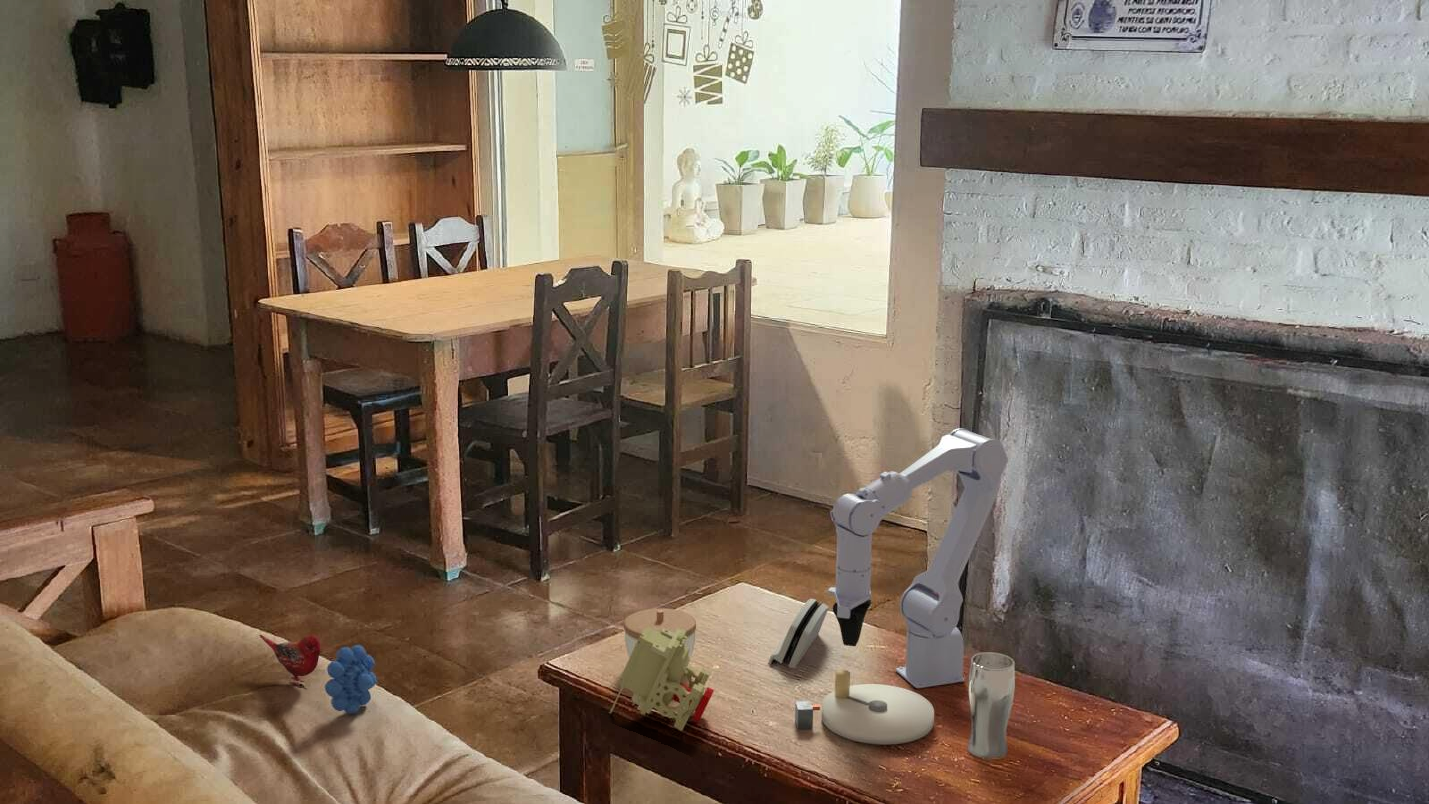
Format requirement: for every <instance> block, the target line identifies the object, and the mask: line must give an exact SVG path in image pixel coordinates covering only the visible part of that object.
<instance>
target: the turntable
mask: <svg viewBox="0 0 1429 804" xmlns="http://www.w3.org/2000/svg"><path fill="white" fill-rule="evenodd" d="M834 678H835V679H834V690H833V691H832V692H829V693H828V694H826V696H825V697H824V698H823V700H822V703H821V721H822V722H823V724H824V726H826V728H828V729H829V730H830V731H831V732H833V733H835V734H836V735H838V736H840V737H843V738H845V739H849V740H850V741H855V742H859V743H864V744H871V745H898V744H900V745H901V744H905V743H910V742H914V741H916V740H920V739H922V738H923V737H925V736H926V735H928V734H929V733H930V732H931V731H932V730H933V727H934V724H935V709H934V707H933V704H932V703H931V702H930V701H929V700H928V699H927V698H925V697H924V696H922V695H921V694H919V693H917V692H915V691H913V690H909V689H907V688H904V687H899V686H895V685H889V684H881V683H880V684H878V683H866V684H864V683H863V684H852V685H851V672H850V671H849V670H846V669H838V670H836V671H835V674H834Z"/></svg>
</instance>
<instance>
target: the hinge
mask: <svg viewBox="0 0 1429 804" xmlns="http://www.w3.org/2000/svg"><path fill="white" fill-rule="evenodd" d="M828 611H829V606H828V605H827V604H825V603H824V602H823V603H819V601H818V600H817V599H814V598H809V599H807V601H806V602H805V603H804V605H803V606H802V607H801V609H800V611H799V612H798V613H797V615H796V616H795V618H794V620H793V621H792V622H791V625H790V626H789V628H788V631H787V633H786V635H785V636H784V638H783V640H782V641H781V642H780V644H779V645H778V646H777V647H776V649H775V650H774V651H773V653H772V654H771V655H770V657H769V659H768V663H767V665H771V664H772V663H773V662H774V660H775V661H777V662H778V663H780V664H782V663H786V664H787V665H788V666H787V668H790V669H796V667H797V666H798V665H799V663H800V661H801V660H802V659H803V657H804V656H805V654H806V652H808V649H809V648H810V647H811V645H812V644H813V642H814V641H815V639H816V638H817V637H818V636H819V634H820V630H821V629H822V626H823V623H824V620H825V619H826V616H827V613H828ZM786 661H787V662H786Z"/></svg>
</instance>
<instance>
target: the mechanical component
mask: <svg viewBox="0 0 1429 804" xmlns="http://www.w3.org/2000/svg"><path fill="white" fill-rule="evenodd" d="M685 633H686V631H685V630H683V629H682V630H680V629H677V631H676V632H675V633H673V632H671V631H669V630H667V629H665V628H663V629H662V631H661V633H659V632H657V631H655V630H652V629H651V628H645V629H644V631H643V632H642V634H641V636H640V637H639V639H638V641H637V643H636V645H635V648H634V650H633V652H632V654H631V656H630V658H629V657H628V660H627V662H626V665H625V667H624V669H623V670H622V673H621V675H620V677H619V678H618V679H619V680H618V682H617V683H619V685H620V688H619V692H618V694H617V696H616V698H615V701H614V702H613V705H612V707H611V709H610V711H609V714H610V715H611V714H612V712H613V710H614V708H615V705H616V704H617V701H618V699H619V697H620V695H621V693H622V692H623V690H624V689H627V690H629V691H631V692H632V693H633V695H632V696H631V701H632V702H633V703H635V704H636V705H637V708H636V709H637V710H638V711H640V714H642V715H645V714H646V713H647V714H648V715H649V714H651V712H652V709H655V710H657V712H659V713H660V714H661V716H663V717H667V718H669V719H675V720H676V721H675V722H674V725H673V727H674V728H675V729H677V730H679V731H680V732H683V730H684V728H685V726H686V724H687V722H688V719H689V718H690V717H691V721H692V722H694V723H696V724H699V722H700V720H701V718H702V716H703V713H704V711H706V708H707V705H708V704H709V702H710V700H711V698H712V696H713V693H714V691H715V689H712V688H711V687H708V686H707V687H705V685H706V684H707V681H708V679H709V677H710V675H711V673H712V672H711V671H710V670H709V669H708V670H707V669H705V668H703V667H702V668H701V670H700V671H699V673H697V672H696V671H695V670H694V669H693V668H691V667H690V666H689V665H690V664H689V663H690V661H691V658H689V655H688V654H689V648H688V647H686V646H685V645H684V643H685V641H686V639H687V636H685ZM683 676H684V677H686V679H687V681H688V686H687V685H686V684H683V683H681V680H682V679H683ZM693 678H694V679H693ZM671 701H674V702H676V703H678V705H677V706H675V707H673V706H672V707H671V706H670V705H669V704H670V702H671ZM676 712H677V713H676Z"/></svg>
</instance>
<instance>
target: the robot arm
mask: <svg viewBox="0 0 1429 804" xmlns="http://www.w3.org/2000/svg"><path fill="white" fill-rule="evenodd" d="M1008 461H1009V457H1008V455H1007V453H1006V450H1005V447H1004V445H1003V443H1002V442H1001V441H1000V440H997V439H995V438H989V437H986V436H984V435H980V434H977V433H975V432H972V431H969V430H968V429H966V428H962V427H960V428H956V429H953V430H952V431H951V432H949V434H946V435H943V436H942V437H941V438H940V441H939V444H938V445H937V446H935V447H934V448H932V449H931V450H930V451H928V452H927V453H926V454H924V455H923V456H922V457H920V458H918V459H917V460H915V462H913V463H911V464H910V465H909V466H908V467H907V468H905V469H903V471H901V472H897V471H892V470H890V471H888V472H887V471H884V472H882V473H881V474H879V478H877V479H876V480H874V481H873V482H871V483H869V484H868V485H866V486H865V487H861V488H859V489H857V491H856V493H846V494H843V495H841V496H840V497H838V498H837V499H836V501H835V502H834V504H833V508H832V510H830V511H829V513H830V514H829V515H830V518H831V521H832V522H833V524H834V525H835V534H836V559H835V561H836V563H835V587H833V586H831V587H829V588H828V591H827V592H828V593H827V594H828V595H830V596H833V597H834V599H835V603H834V604H833V605H832V611H833V612H832V613H833V615H835V617H836V619H837V623H838V625H839V628H840V629H839V630H840V635H841V639H842V644H843V646H848V647H856V646H857V644H858V642H859V641H860V637H861V632H862V630H863V629H862V628H863V624H864V620H865V617H866V614H867V612H868V610H869V608H870V607H871V605H872V600H871V597H872V591H871V571H872V569H871V568H872V567H871V566H872V547H873V546H872V544H873V543H872V541H873V533H874V532H875V531H876V530H877V529H878V527H879V525H880V523H881V521H882V520H884V518H885V517H886V516H887V515H888V514H890V513H892V512H893V511H895V510H897V509H898V508H900V507H901V506H902V505H905V504H906V503H907V502H909V501H910V499H911V495H912V492H913V490H915V489H917V488H919V487H921V486H922V485H924V484H926V483H927V482H929V481H932V480H933V479H935V478H937V477H939V476H941V475H943V474H944V473H946V472H947V471H954V472H956V473H957V474H958V475H959V478H960V480H961V482H962V485H963V491H962V494H961V496H960V498H959V500H958V503H957V504H956V506H955V509H954V511H953V514H952V516H951V518H950V520H949V523H948V525H947V526H946V530H945V531H944V533H943V536H942V539H941V541H940V543H939V545H938V547H937V550H936V552H935V554H934V556H933V559H932V561H931V563H930V565H929V567H928V569H927V570H925V571H924V572H922V573H919V574H917V575H916V576H914V578H913V580H912V582H911V584H910V586H909V587H907V588H906V590H905V591H903V592H902V595H901V597H900V600H899V611H900V613H901V614H902V616H903V617H904V618H905V625H906V626H907V627H906V629H907V630H906V649H905V650H906V653H905V666H901V667H897V668H895V672H896V673H898V674H899V675H900V676H901V677H903V679H905V680H906V681H907V682H909V683H910V684H911V685H912V686H913V687H914V688H915V689H923V688H929V687H935V686H942V685H947V684H950V685H951V684H954V683H962V682H964V681H965V678H964V677H963V672H964V671H963V667H964V653H965V652H964V651H965V650H964V647H965V644H964V639H963V635H962V632H961V631H960V630H959V628H958V627H957V625H958V623H959V620H960V611H961V606H962V603H963V601H964V599H963V595H962V592H961V589H960V587H959V585H958V584H959V581H960V579H961V576H962V574H963V572H964V570H965V568H966V565H967V563H968V561H969V559H970V557H971V555H972V552H973V550H974V547H975V546H976V544H977V541H978V539H979V536H980V534H981V532H982V529H983V527H984V526H985V523H986V520H987V519H988V517H989V514H990V512H991V511H992V507H993V504H994V503H995V501H996V498H997V496H998V493H999V491H1000V487H1001V485H1000V484H1001V477H1002V475H1003V473H1004V471H1005V468H1006V466H1007V464H1008Z"/></svg>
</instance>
